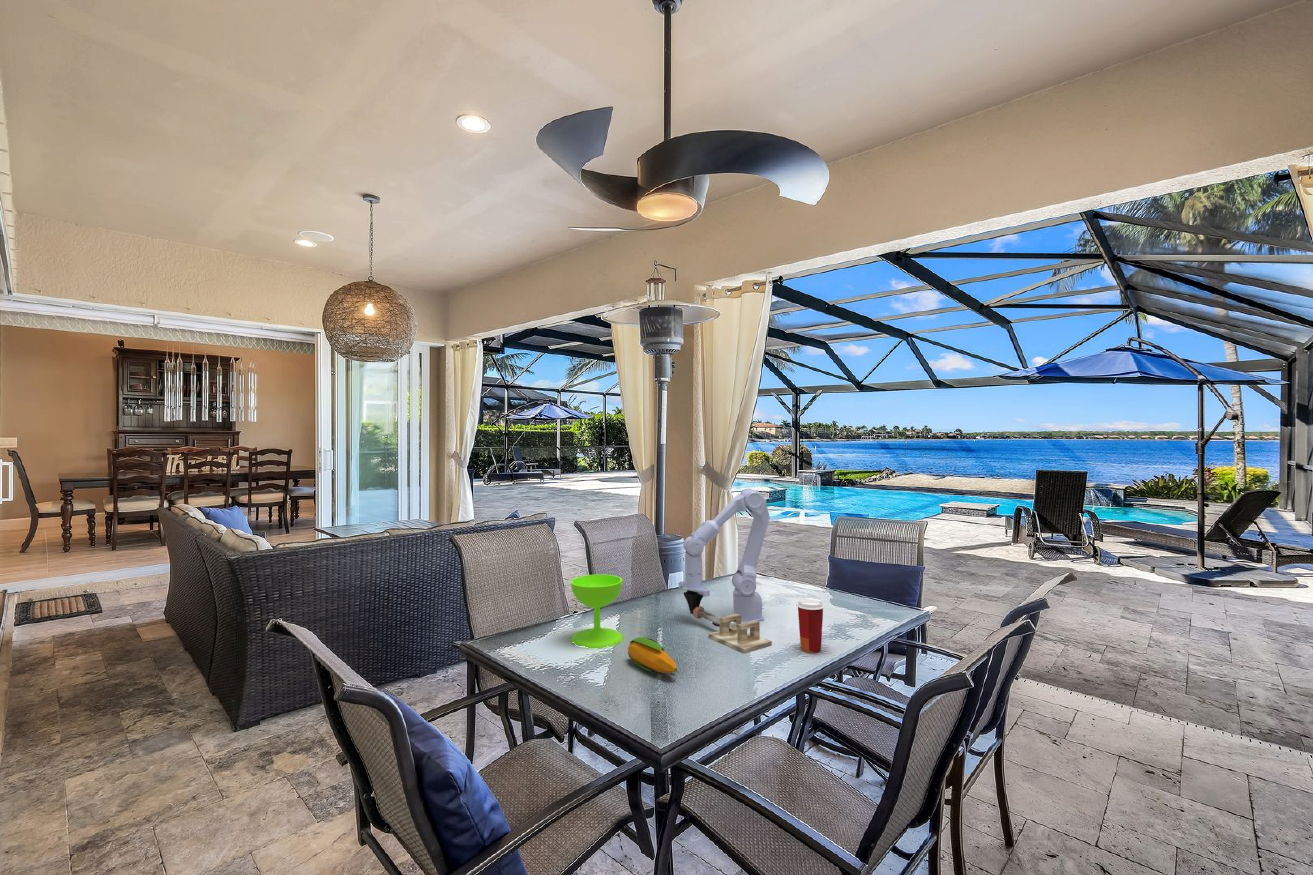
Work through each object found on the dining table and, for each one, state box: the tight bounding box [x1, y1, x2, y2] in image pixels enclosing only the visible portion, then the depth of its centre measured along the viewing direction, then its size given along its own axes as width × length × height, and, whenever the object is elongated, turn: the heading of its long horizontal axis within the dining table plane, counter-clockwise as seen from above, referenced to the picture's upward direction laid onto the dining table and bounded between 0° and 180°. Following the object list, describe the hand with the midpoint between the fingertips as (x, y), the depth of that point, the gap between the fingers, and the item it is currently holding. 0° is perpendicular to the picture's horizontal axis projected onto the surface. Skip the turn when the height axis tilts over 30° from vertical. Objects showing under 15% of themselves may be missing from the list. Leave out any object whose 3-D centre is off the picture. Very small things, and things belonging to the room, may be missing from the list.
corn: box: [627, 636, 678, 674], centre depth 151 cm, size 7×8×20 cm
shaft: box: [692, 605, 738, 630], centre depth 180 cm, size 18×4×4 cm, turn 34°
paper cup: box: [796, 597, 825, 654], centre depth 164 cm, size 8×8×14 cm
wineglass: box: [570, 573, 624, 649], centre depth 174 cm, size 16×16×18 cm
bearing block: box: [707, 614, 773, 654], centre depth 171 cm, size 16×11×6 cm
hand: (694, 613), depth 189 cm, fingers closed
